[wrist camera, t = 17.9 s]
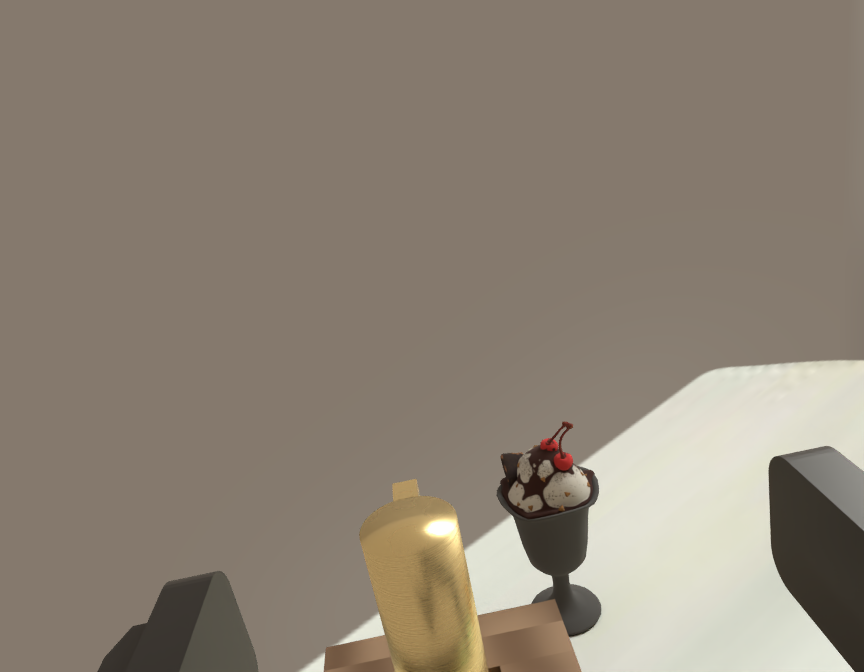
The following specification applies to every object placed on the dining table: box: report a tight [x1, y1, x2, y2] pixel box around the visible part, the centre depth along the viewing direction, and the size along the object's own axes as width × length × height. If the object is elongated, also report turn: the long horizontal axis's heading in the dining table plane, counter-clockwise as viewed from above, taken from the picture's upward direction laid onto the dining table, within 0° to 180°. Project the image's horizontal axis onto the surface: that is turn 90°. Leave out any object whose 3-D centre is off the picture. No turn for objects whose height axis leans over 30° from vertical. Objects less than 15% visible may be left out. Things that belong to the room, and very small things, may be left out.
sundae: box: [497, 422, 601, 636], centre depth 46 cm, size 7×7×15 cm
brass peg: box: [359, 479, 489, 672], centre depth 34 cm, size 4×6×18 cm
